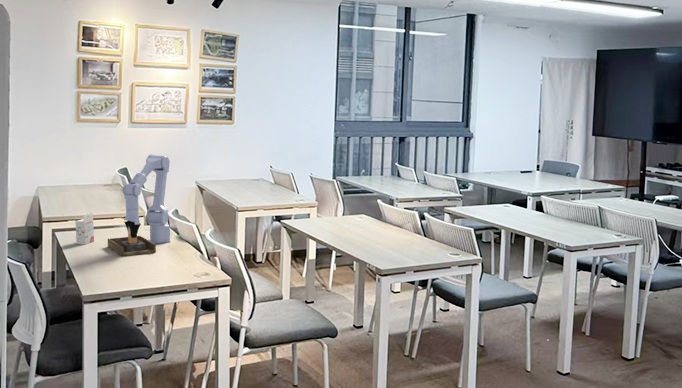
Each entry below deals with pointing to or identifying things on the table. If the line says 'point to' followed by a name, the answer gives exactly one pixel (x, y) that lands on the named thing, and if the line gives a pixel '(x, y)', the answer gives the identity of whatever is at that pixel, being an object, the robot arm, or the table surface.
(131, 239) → the plug
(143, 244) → the brown wooden box
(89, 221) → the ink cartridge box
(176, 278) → the table surface
